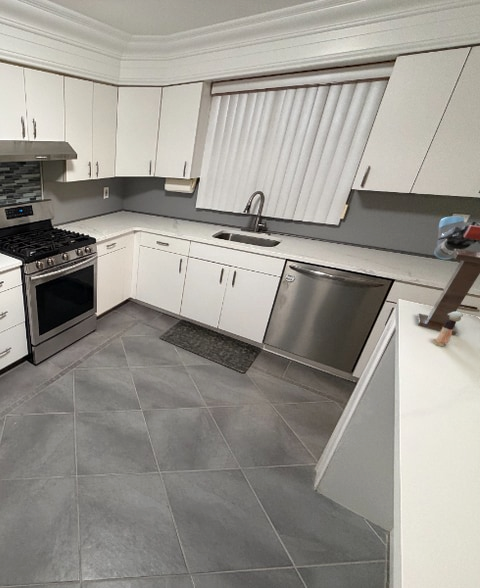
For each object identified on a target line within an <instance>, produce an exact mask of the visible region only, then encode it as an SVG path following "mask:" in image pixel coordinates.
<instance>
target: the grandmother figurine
mask: <svg viewBox="0 0 480 588" xmlns="http://www.w3.org/2000/svg"><path fill="white" fill-rule="evenodd" d="M448 316H450V317H449V318H450V320H448V321H447V322H446V323H445V324H444V326H443V328H442V330H441V331H440V333H439V335H437V337H436V338H435V339H433V341H432V343H433V344H434V345H436V346H439V347H444V346H445V344H449V342H450V340H451V339H452V338H451V337H452V329H453V328H454V326H455V327H456V324H457V322H460V321H461V320H462V317H463V316H464V314H463V312H460V311H456V312H451V313H449V314H448Z"/></svg>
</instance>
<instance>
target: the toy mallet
mask: <svg viewBox="0 0 480 588" xmlns="http://www.w3.org/2000/svg"><path fill="white" fill-rule="evenodd" d="M464 238H469V239H476V240H480V226H476V225H469V227H468V229H467V231H466V232H465V234H464Z"/></svg>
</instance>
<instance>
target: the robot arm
mask: <svg viewBox="0 0 480 588" xmlns="http://www.w3.org/2000/svg"><path fill="white" fill-rule="evenodd" d="M469 225H476V226H480V223H478V222H476V221H472V222H466V221H465V219H464V217H463V216H459V215H454V216H453V215H451V216H446V217H443V218H441V219H440V220H439V224H438V235H437V236H438V237H437V238H438V239H437V242H436V243H437V244H436V247H435V249H434V253H433V254H434V256H435V257H436V258H438V259H439V260H451V259H453V258H454V256H453V255H452V252H453V251H454V249H461V250H466V249H468V248H469V247H471V245H475V244H479V245H480V240H476V239H469V238H464V234H465V232H466V231H467V229H468V227H469Z"/></svg>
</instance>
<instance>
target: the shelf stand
mask: <svg viewBox="0 0 480 588" xmlns="http://www.w3.org/2000/svg"><path fill="white" fill-rule="evenodd" d="M452 255H453V256H454V257H453V258H454V260H456V261H459V263H458V264H457V267H456V268H455V270H454V272H452V274H451V277H450V278H449V280H448V281H447V283H446V285H445V287H444V289H443V290H442V292H441V293H440V295H439V297H438V299H437V300H436V302H435V304H434V305H433V307H432V309H431V310H430V312H429V314H428V315H427V314H423V313H417V316H416V319H417V326H418V327H423V328H427V329H430V330H434V331H438V332H441V330H442V328H443V326H444V324H445V323H446V322H447V321H448V320H450V318H449V317H450V316H448V314H449V313H451V312H458V309H459V308H460V306H461V304H462V303H463V301H464V300H465V298H466V297H467V294H468V293H469V291H470V290H471V288H472V287H473V285H474V284H475V282H476V281H477V279H478V277H479V275H480V251H473V250H466V249H465V250H461V249H454V251H453V252H452ZM457 333H458V331H457V328H456V325H455V326H454V328H453V329H452V334H451V336H456V334H457Z"/></svg>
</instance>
